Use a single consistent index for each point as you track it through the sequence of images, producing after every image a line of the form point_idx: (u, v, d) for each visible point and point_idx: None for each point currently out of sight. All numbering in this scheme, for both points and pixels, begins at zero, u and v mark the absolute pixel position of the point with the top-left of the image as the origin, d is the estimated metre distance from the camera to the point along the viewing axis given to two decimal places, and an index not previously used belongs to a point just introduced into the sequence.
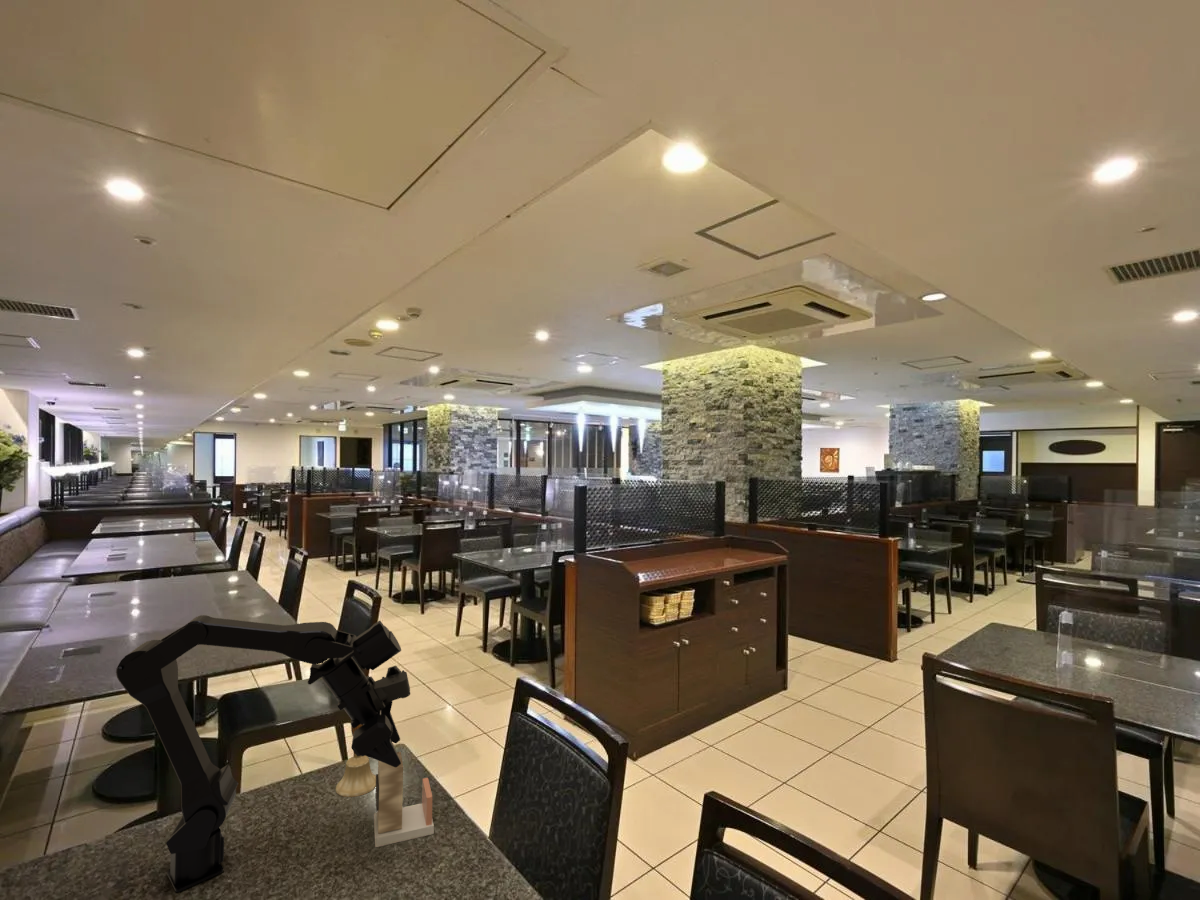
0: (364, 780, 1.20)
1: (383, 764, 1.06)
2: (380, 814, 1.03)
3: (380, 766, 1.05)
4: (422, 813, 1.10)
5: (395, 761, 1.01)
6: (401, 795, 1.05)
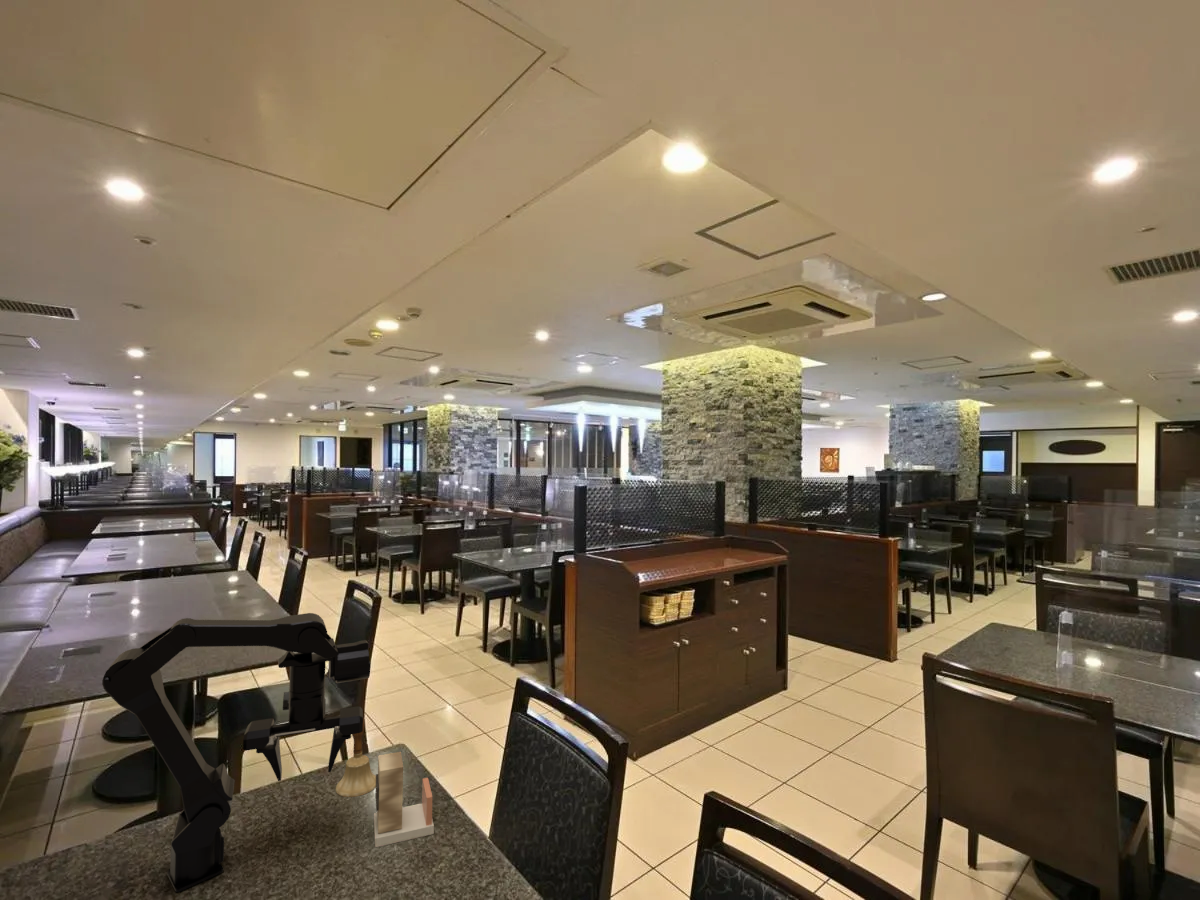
0: (364, 780, 1.20)
1: (383, 764, 1.06)
2: (380, 814, 1.03)
3: (380, 766, 1.05)
4: (422, 813, 1.10)
5: None
6: (401, 795, 1.05)
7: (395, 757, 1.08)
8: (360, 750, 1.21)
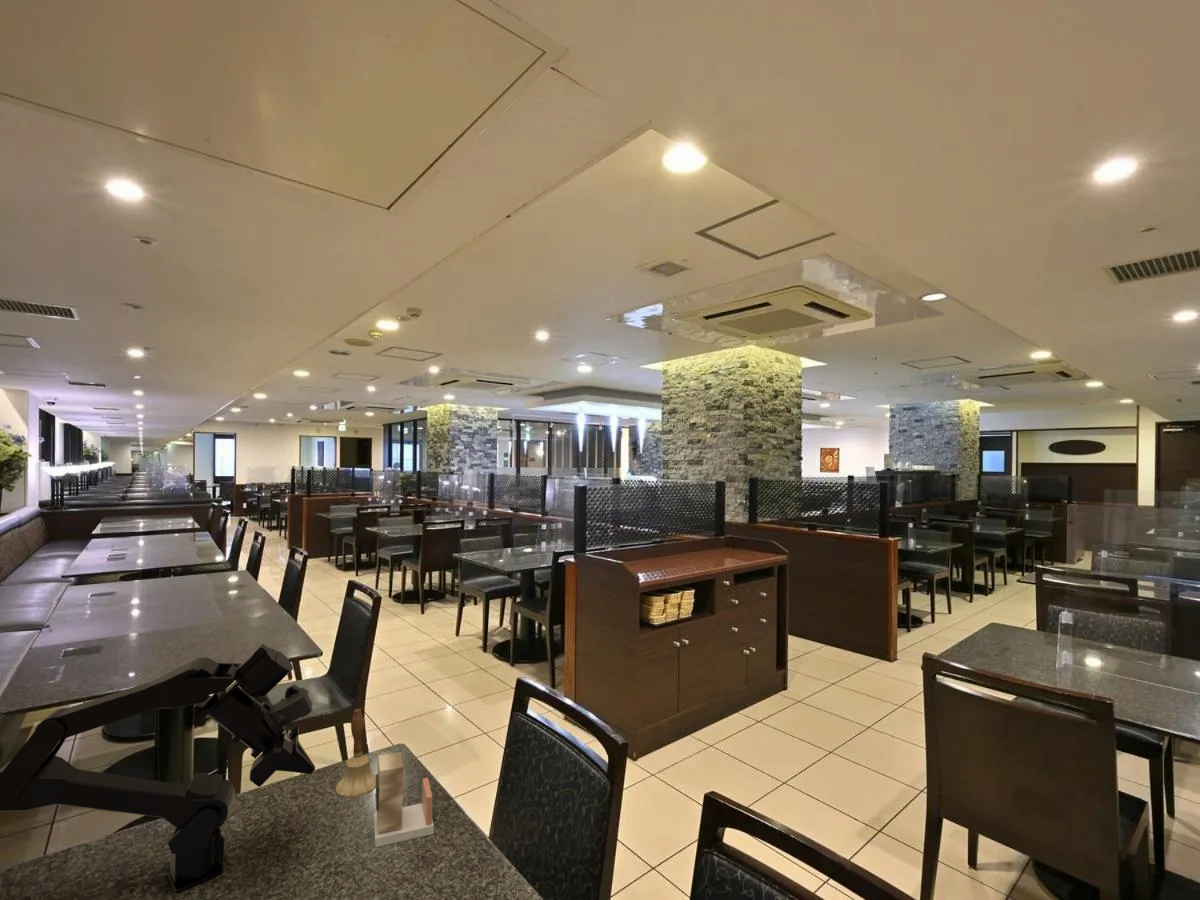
0: (364, 780, 1.20)
1: (383, 764, 1.06)
2: (380, 814, 1.03)
3: (380, 766, 1.05)
4: (422, 813, 1.10)
5: (308, 768, 1.01)
6: (401, 795, 1.05)
7: (395, 757, 1.08)
8: (360, 750, 1.21)
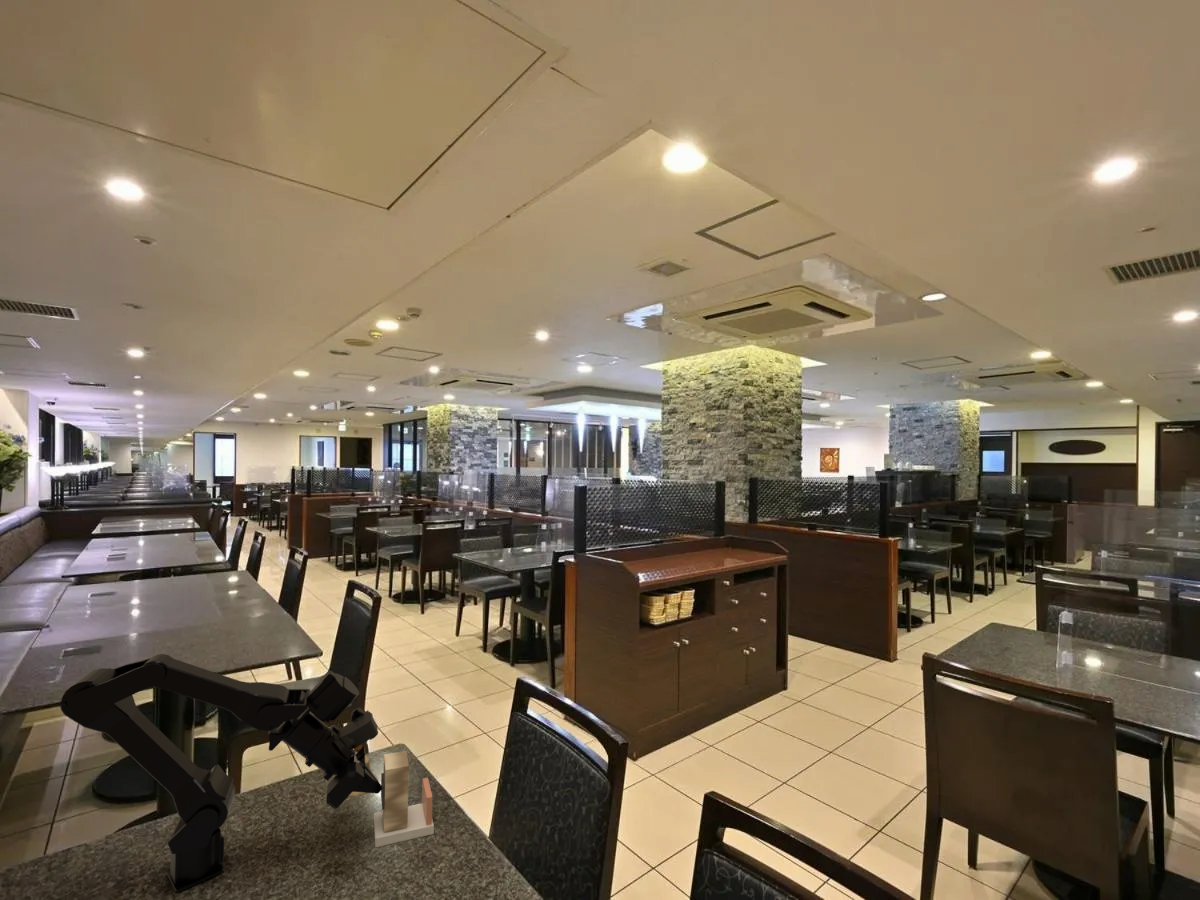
0: None
1: (388, 763, 1.06)
2: (386, 813, 1.04)
3: (386, 765, 1.06)
4: (422, 813, 1.10)
5: (376, 788, 1.05)
6: (407, 794, 1.05)
7: (400, 756, 1.09)
8: None
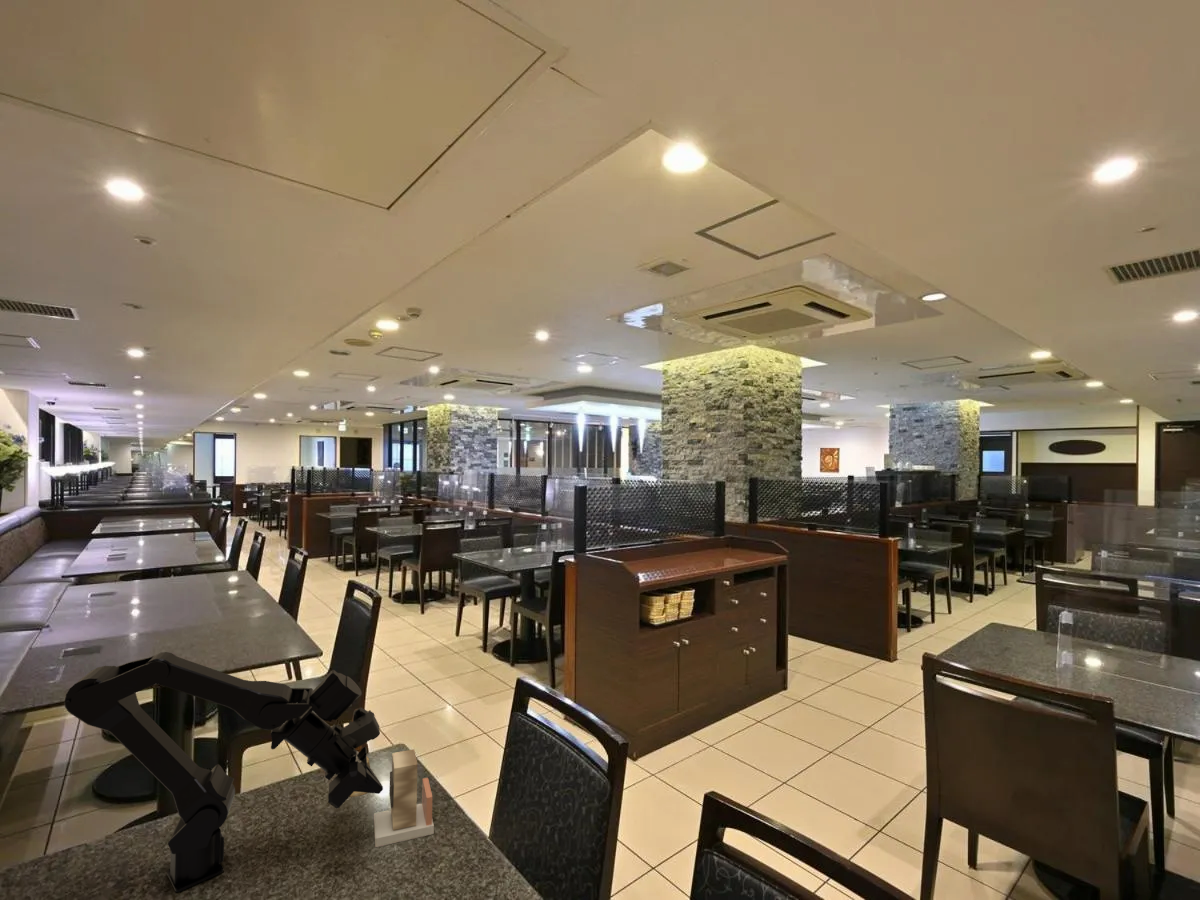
0: None
1: (397, 762, 1.07)
2: (395, 811, 1.04)
3: (394, 763, 1.06)
4: (422, 813, 1.10)
5: (377, 788, 1.05)
6: (416, 792, 1.06)
7: (409, 755, 1.09)
8: (360, 750, 1.21)
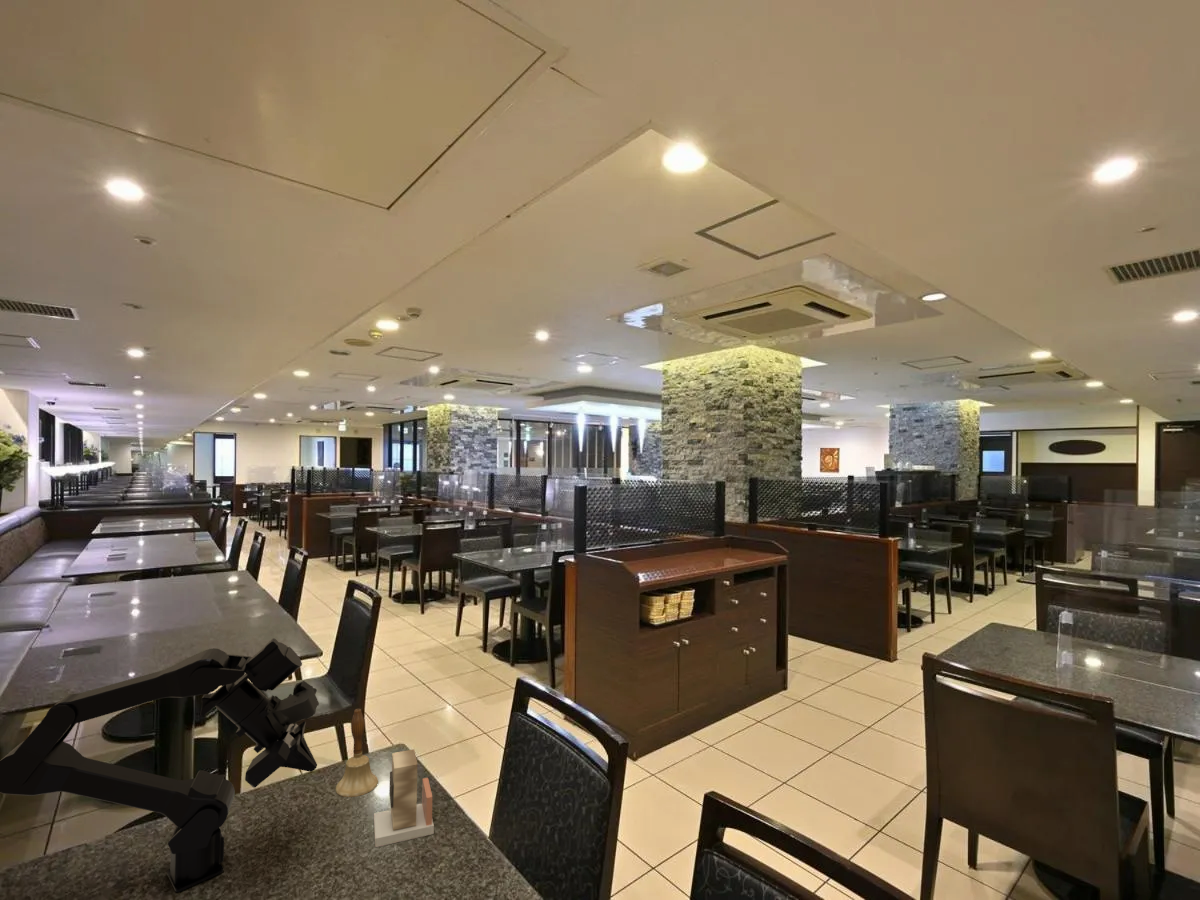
0: (364, 780, 1.20)
1: (397, 762, 1.07)
2: (395, 811, 1.04)
3: (394, 763, 1.06)
4: (422, 813, 1.10)
5: (309, 766, 1.01)
6: (416, 792, 1.06)
7: (409, 755, 1.09)
8: (360, 750, 1.21)
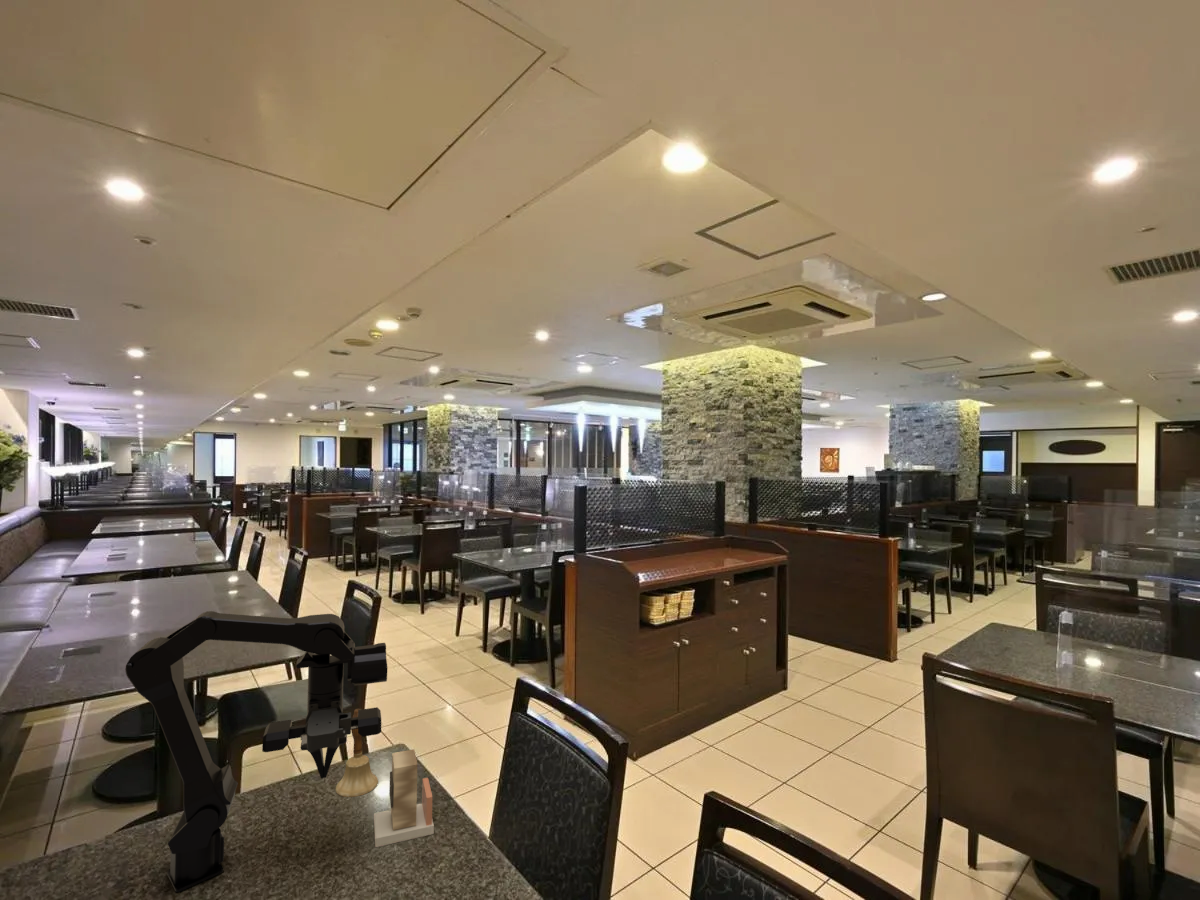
0: (364, 780, 1.20)
1: (397, 762, 1.07)
2: (395, 811, 1.04)
3: (394, 763, 1.06)
4: (422, 813, 1.10)
5: (319, 771, 1.02)
6: (416, 792, 1.06)
7: (409, 755, 1.09)
8: (360, 750, 1.21)
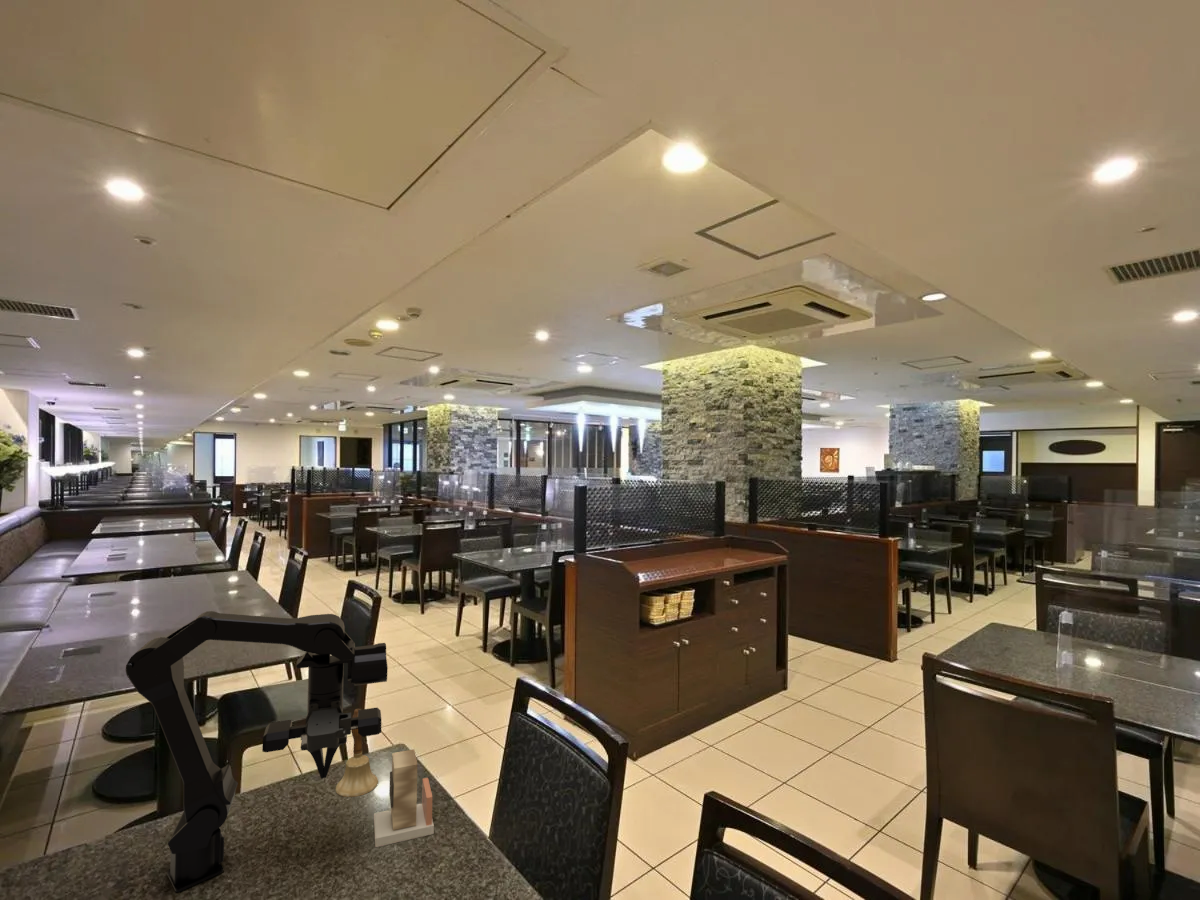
0: (364, 780, 1.20)
1: (397, 762, 1.07)
2: (395, 811, 1.04)
3: (394, 763, 1.06)
4: (422, 813, 1.10)
5: (319, 771, 1.02)
6: (416, 792, 1.06)
7: (409, 755, 1.09)
8: (360, 750, 1.21)
